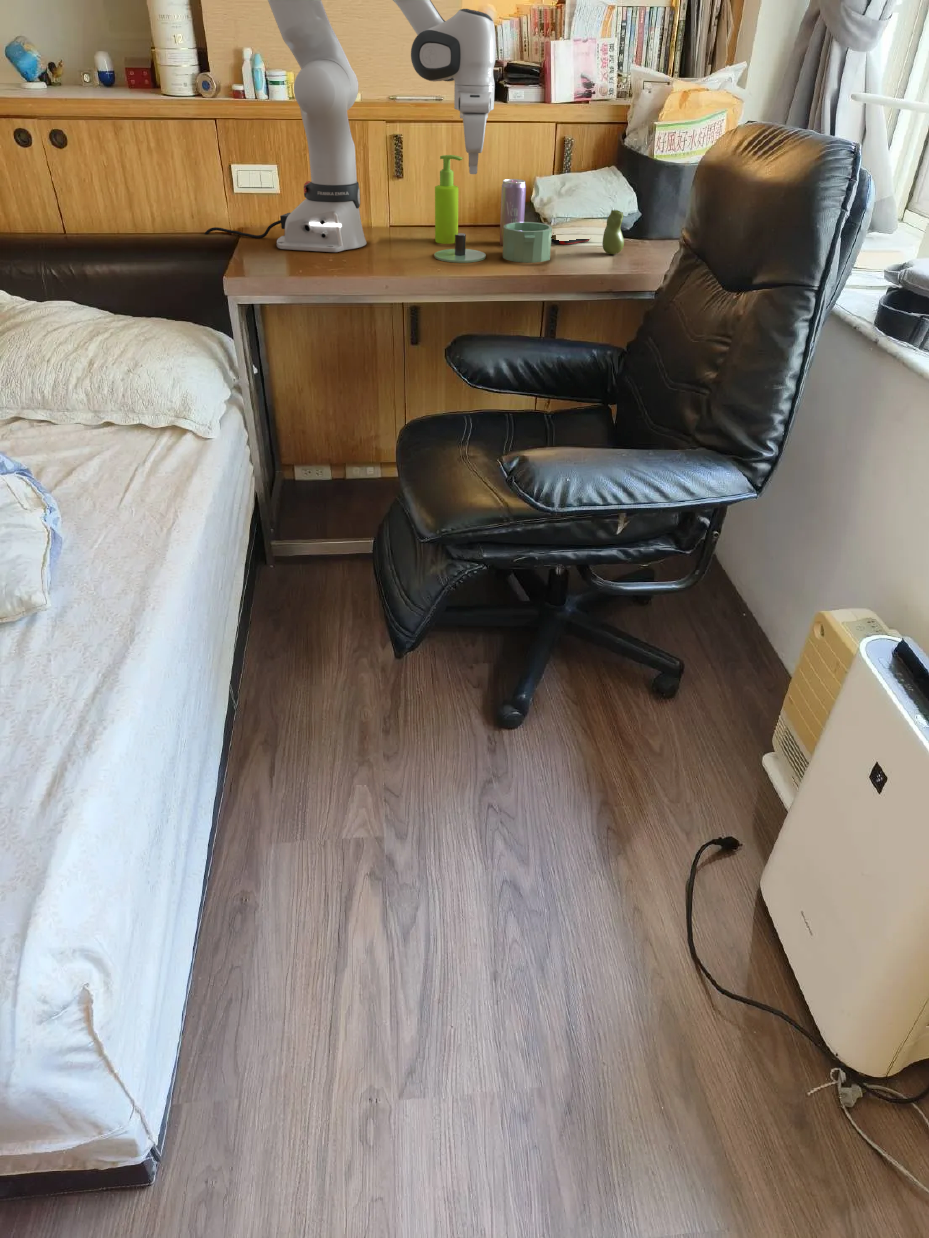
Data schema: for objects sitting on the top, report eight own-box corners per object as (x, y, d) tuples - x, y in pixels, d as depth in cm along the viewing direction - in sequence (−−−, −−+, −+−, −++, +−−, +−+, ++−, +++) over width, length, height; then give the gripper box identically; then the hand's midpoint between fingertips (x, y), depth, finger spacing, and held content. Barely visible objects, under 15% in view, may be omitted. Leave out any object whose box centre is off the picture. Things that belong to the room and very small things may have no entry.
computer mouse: (593, 241, 217) (595, 225, 215) (560, 246, 212) (562, 229, 210) (578, 237, 221) (580, 221, 219) (546, 241, 217) (547, 224, 214)
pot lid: (433, 265, 194) (433, 239, 190) (435, 253, 204) (434, 228, 200) (486, 266, 194) (487, 240, 191) (485, 253, 204) (485, 229, 201)
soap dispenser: (457, 247, 209) (458, 157, 198) (431, 244, 211) (431, 156, 199) (464, 242, 214) (466, 154, 202) (439, 240, 216) (439, 153, 204)
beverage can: (523, 244, 213) (526, 179, 204) (522, 249, 208) (525, 183, 200) (500, 243, 214) (502, 178, 205) (498, 248, 209) (501, 182, 200)
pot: (503, 267, 193) (505, 233, 189) (501, 251, 206) (502, 219, 202) (552, 268, 193) (554, 234, 189) (546, 252, 207) (548, 220, 202)
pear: (602, 251, 208) (607, 207, 202) (623, 252, 207) (629, 208, 201) (600, 255, 204) (604, 211, 198) (621, 257, 203) (626, 213, 197)
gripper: (459, 96, 191) (458, 164, 199) (460, 103, 174) (459, 177, 182) (486, 97, 191) (485, 164, 199) (490, 104, 174) (487, 177, 182)
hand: (472, 170), depth 191 cm, fingers open, 8 cm apart
